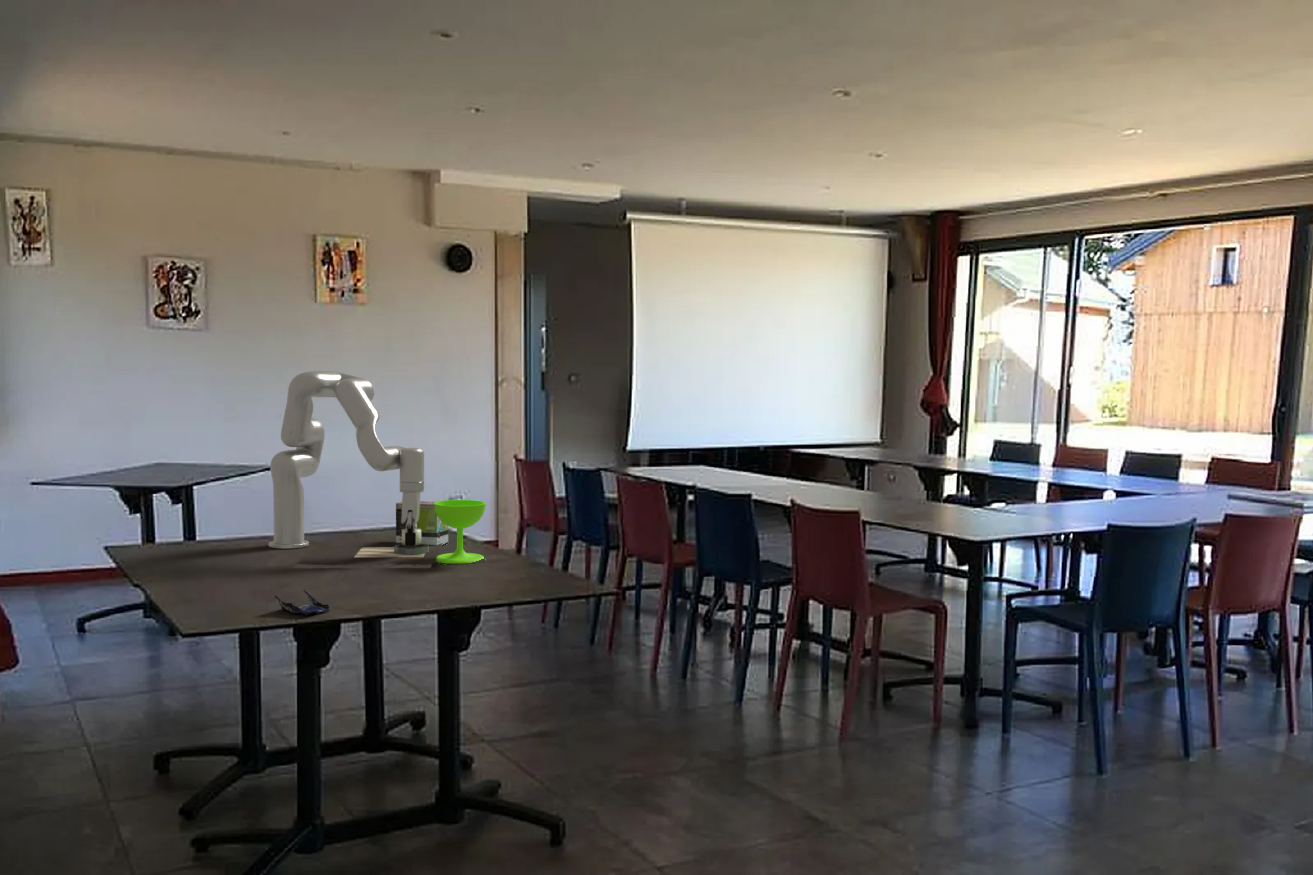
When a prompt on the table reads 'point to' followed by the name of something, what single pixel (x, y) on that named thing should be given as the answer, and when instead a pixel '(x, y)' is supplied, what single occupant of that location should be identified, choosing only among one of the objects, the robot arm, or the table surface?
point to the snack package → (305, 609)
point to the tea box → (424, 524)
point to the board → (381, 552)
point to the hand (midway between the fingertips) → (411, 543)
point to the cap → (418, 536)
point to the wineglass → (459, 525)
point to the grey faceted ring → (411, 549)
